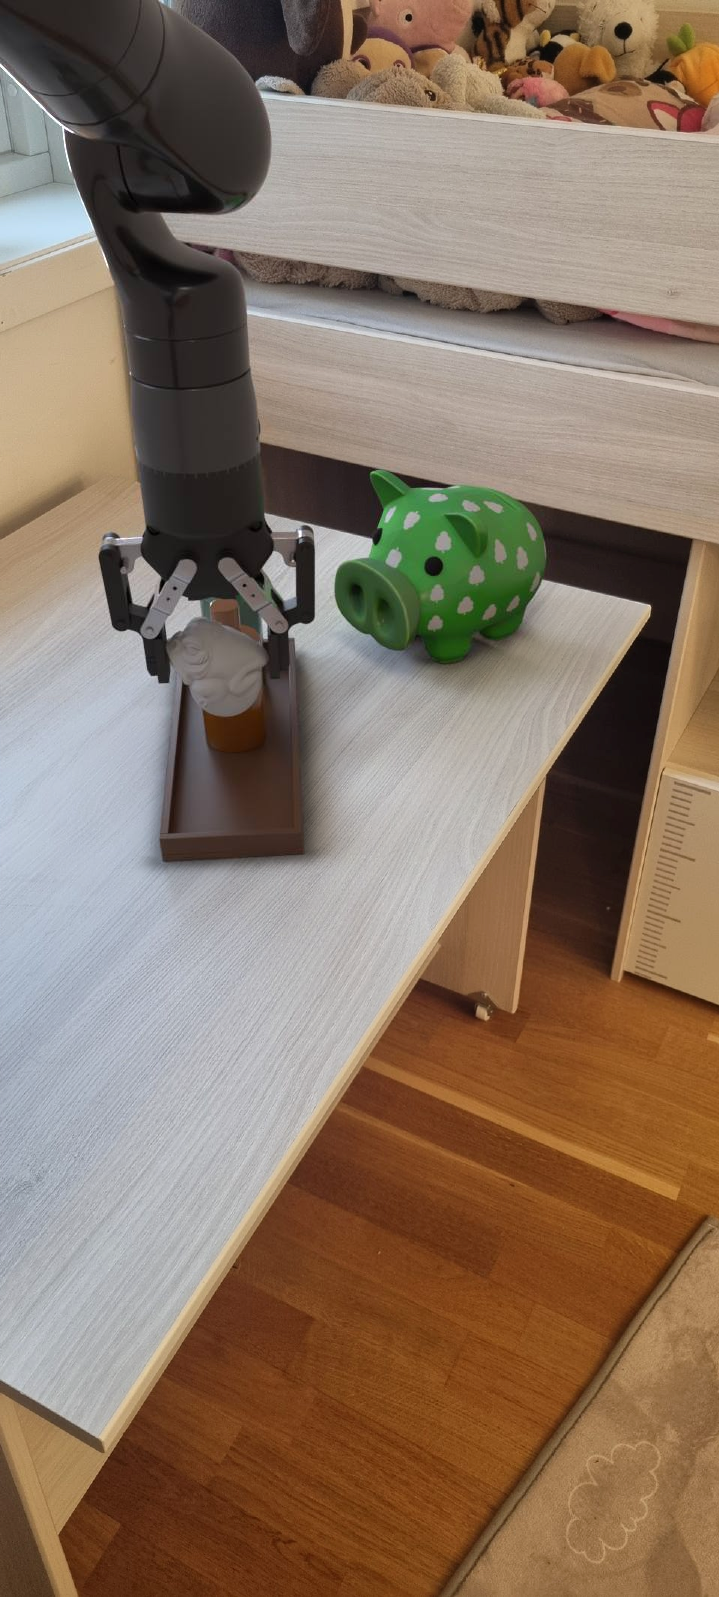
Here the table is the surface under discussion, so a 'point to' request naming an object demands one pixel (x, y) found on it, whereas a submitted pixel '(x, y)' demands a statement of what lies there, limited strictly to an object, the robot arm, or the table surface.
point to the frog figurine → (218, 665)
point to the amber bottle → (251, 723)
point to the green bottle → (246, 618)
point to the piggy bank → (443, 568)
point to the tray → (234, 782)
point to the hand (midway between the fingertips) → (220, 674)
